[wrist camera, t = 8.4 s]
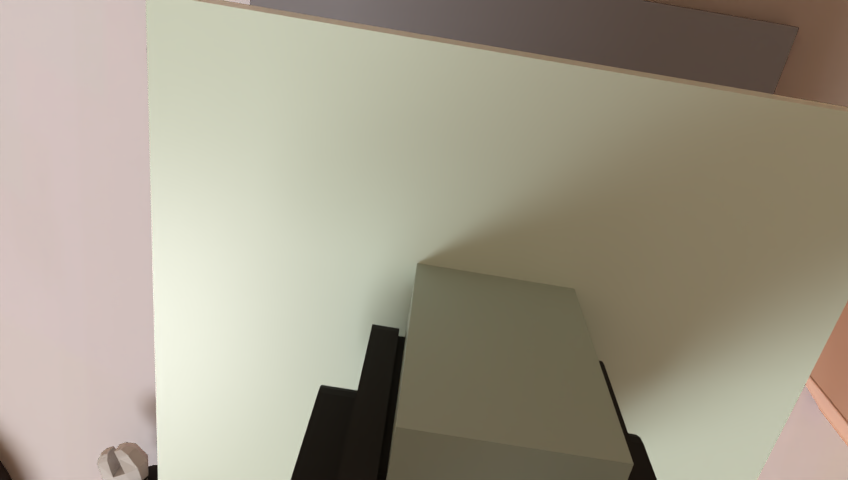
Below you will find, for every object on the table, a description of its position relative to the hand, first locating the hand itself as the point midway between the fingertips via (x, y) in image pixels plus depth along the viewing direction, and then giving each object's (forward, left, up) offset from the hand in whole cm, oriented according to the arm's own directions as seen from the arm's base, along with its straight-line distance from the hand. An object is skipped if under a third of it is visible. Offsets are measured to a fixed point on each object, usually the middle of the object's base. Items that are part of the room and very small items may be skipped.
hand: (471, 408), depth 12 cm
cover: (0, 0, -1) cm, 1 cm away
